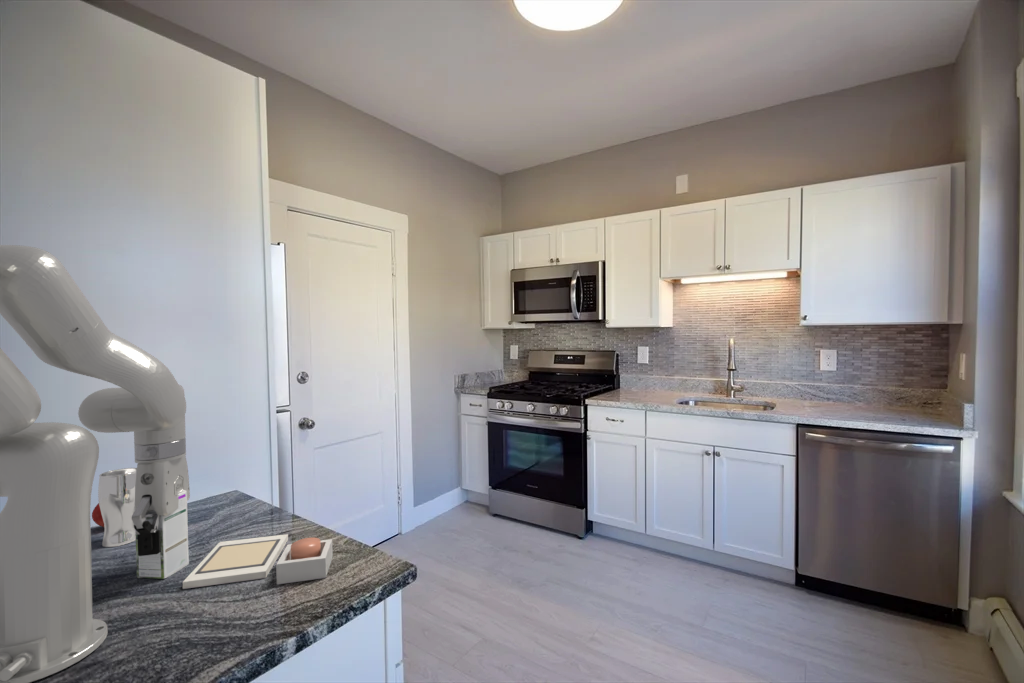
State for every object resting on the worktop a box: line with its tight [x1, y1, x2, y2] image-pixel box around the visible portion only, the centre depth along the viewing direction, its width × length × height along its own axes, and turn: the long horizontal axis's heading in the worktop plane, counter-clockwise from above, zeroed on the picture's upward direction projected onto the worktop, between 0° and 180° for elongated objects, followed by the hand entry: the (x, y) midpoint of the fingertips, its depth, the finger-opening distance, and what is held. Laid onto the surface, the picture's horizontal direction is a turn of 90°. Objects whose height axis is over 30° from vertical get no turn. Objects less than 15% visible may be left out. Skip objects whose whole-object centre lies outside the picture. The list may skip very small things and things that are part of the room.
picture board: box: [182, 534, 289, 590], centre depth 86 cm, size 16×13×1 cm
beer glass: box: [97, 467, 137, 548], centre depth 97 cm, size 7×7×15 cm
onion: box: [91, 502, 104, 528], centre depth 104 cm, size 6×6×8 cm
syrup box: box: [134, 490, 190, 580], centre depth 83 cm, size 6×6×14 cm
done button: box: [291, 537, 321, 560], centre depth 82 cm, size 5×5×2 cm
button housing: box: [275, 538, 334, 585], centre depth 82 cm, size 8×8×4 cm
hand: (163, 542), depth 83 cm, fingers open, 8 cm apart
